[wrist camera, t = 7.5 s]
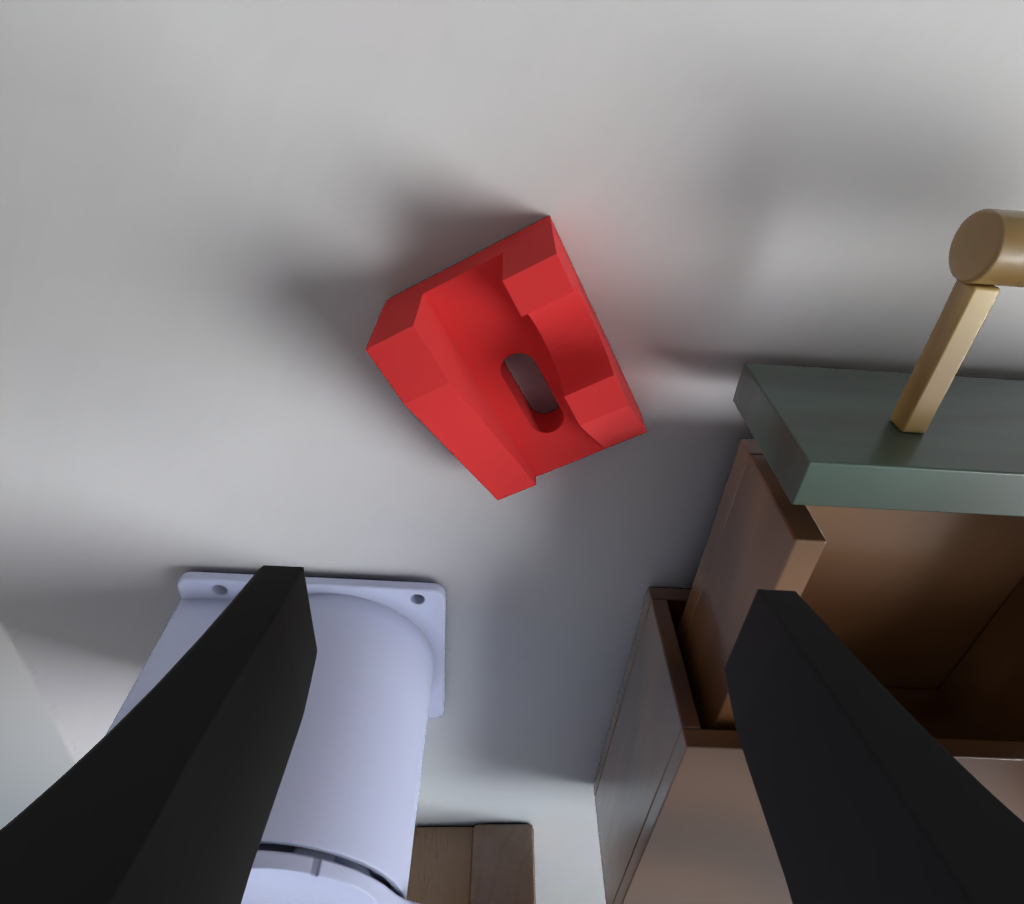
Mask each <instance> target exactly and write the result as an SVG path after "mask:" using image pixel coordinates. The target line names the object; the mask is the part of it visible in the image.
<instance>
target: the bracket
mask: <svg viewBox="0 0 1024 904" xmlns="http://www.w3.org/2000/svg"><path fill="white" fill-rule="evenodd" d="M365 350H366V351H367V352H368V354H369V355H370V357H371V358H372V359H373V361H374V362H375V364H376V365H377V366H378V368H379V369H380V371H381V372H382V374H383V375H384V376H385V378H386V379H387V381H388V382H389V383H390V385H391V386H392V388H393V389H394V391H395V392H396V393H397V395H398V396H399V398H400V399H401V400H402V402H403V403H404V404H405V406H406V407H407V408H408V409H409V410H410V411H411V412H412V413H413V414H414V415H415V416H416V417H417V418H418V419H419V420H420V421H421V422H422V423H423V424H424V425H425V426H426V427H427V428H428V429H429V430H430V431H431V432H432V433H433V434H434V435H435V436H436V437H437V438H438V439H439V440H440V441H441V442H442V444H443V445H444V446H445V447H446V448H447V449H448V450H449V451H450V452H451V453H452V454H453V455H454V456H455V457H456V458H457V459H458V460H459V461H460V462H461V463H462V464H463V465H464V466H465V467H466V468H467V469H468V470H469V471H470V472H471V473H472V474H473V475H474V476H475V477H476V478H477V479H478V481H479V482H480V483H481V484H482V485H483V486H484V487H485V488H486V489H487V490H488V491H489V492H490V493H491V494H492V495H493V496H494V497H495V498H496V499H497V500H500V499H502V498H505V497H507V496H509V495H512V494H514V493H517V492H519V491H522V490H524V489H527V488H529V487H532V486H534V485H536V477H537V476H539V475H542V474H544V473H547V472H549V471H552V470H554V469H557V468H559V467H561V466H564V465H566V464H569V463H571V462H574V461H576V460H579V459H581V458H584V457H586V456H589V455H591V454H594V453H596V452H598V451H601V450H603V449H606V448H608V447H611V446H613V445H616V444H618V443H621V442H623V441H626V440H628V439H631V438H633V437H636V436H638V435H640V434H643V433H645V432H647V431H646V427H645V424H644V421H643V418H642V415H641V412H640V410H639V408H638V406H637V403H636V401H635V399H634V397H633V395H632V393H631V390H630V388H629V386H628V384H627V382H626V380H625V378H624V375H623V373H622V371H621V369H620V367H619V365H618V362H617V360H616V358H615V356H614V354H613V352H612V349H611V347H610V345H609V343H608V341H607V339H606V336H605V334H604V332H603V330H602V328H601V326H600V323H599V321H598V319H597V317H596V315H595V313H594V311H593V308H592V306H591V304H590V302H589V300H588V298H587V295H586V293H585V291H584V289H583V287H582V285H581V282H580V280H579V278H578V276H577V274H576V272H575V269H574V267H573V265H572V263H571V261H570V259H569V256H568V254H567V252H566V250H565V248H564V246H563V244H562V241H561V239H560V237H559V235H558V233H557V231H556V228H555V226H554V224H553V222H552V220H551V218H550V215H549V216H547V217H545V218H543V219H541V220H539V221H537V222H536V223H534V224H532V225H530V226H528V227H526V228H524V229H522V230H520V231H518V232H516V233H514V234H512V235H511V236H509V237H507V238H505V239H503V240H501V241H499V242H497V243H495V244H493V245H491V246H489V247H488V248H486V249H484V250H482V251H480V252H478V253H476V254H474V255H472V256H470V257H468V258H466V259H464V260H463V261H461V262H459V263H457V264H455V265H453V266H451V267H449V268H447V269H445V270H443V271H441V272H440V273H438V274H436V275H434V276H432V277H430V278H428V279H426V280H424V281H422V282H420V283H418V284H416V285H415V286H413V287H411V288H409V289H407V290H405V291H403V292H401V293H399V294H397V295H395V296H393V297H392V298H390V299H388V300H386V302H385V305H384V307H383V309H382V312H381V314H380V316H379V319H378V321H377V324H376V326H375V328H374V331H373V333H372V335H371V338H370V340H369V342H368V345H367V347H366V349H365ZM515 353H523V354H526V355H529V356H530V357H532V358H533V359H534V361H535V362H536V364H537V366H538V368H539V370H540V371H541V373H542V375H543V377H544V379H545V381H546V382H547V384H548V386H549V388H550V390H551V392H552V393H553V395H554V397H555V399H556V401H557V403H558V404H559V407H558V408H557V409H556V410H554V411H552V412H550V413H539V412H536V411H534V410H533V409H532V408H531V407H530V406H529V404H528V402H527V400H526V399H525V397H524V395H523V393H522V392H521V390H520V388H519V386H518V385H517V383H516V381H515V380H514V378H513V376H512V374H511V373H510V371H509V369H508V367H507V366H506V364H505V362H504V359H505V358H506V357H508V356H509V355H512V354H515Z"/></svg>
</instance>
